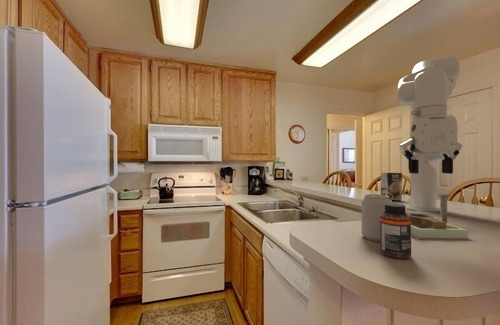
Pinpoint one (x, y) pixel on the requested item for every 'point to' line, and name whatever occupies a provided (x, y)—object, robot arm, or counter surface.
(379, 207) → the can
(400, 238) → the supplement bottle
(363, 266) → the counter surface
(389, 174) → the coffee box
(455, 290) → the counter surface
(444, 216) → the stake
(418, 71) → the robot arm
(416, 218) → the brown wooden block
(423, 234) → the tray
